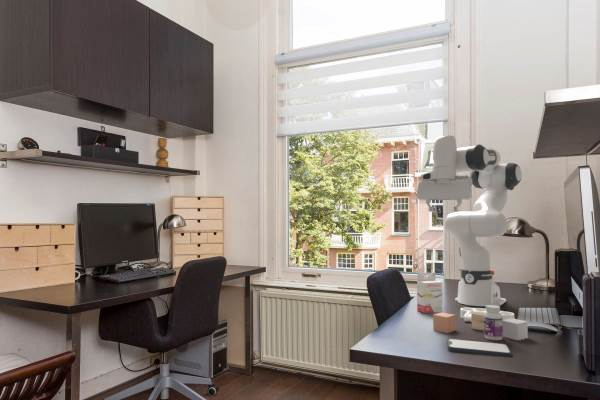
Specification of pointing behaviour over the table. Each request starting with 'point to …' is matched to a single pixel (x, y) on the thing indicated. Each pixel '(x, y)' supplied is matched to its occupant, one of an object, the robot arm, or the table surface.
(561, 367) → the table surface
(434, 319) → the terracotta block
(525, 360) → the table surface
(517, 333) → the grey block
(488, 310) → the pill bottle
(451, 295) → the table surface
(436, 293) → the ink cartridge box
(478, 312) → the maple block
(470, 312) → the knuckle duster
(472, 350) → the phone case
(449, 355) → the table surface
